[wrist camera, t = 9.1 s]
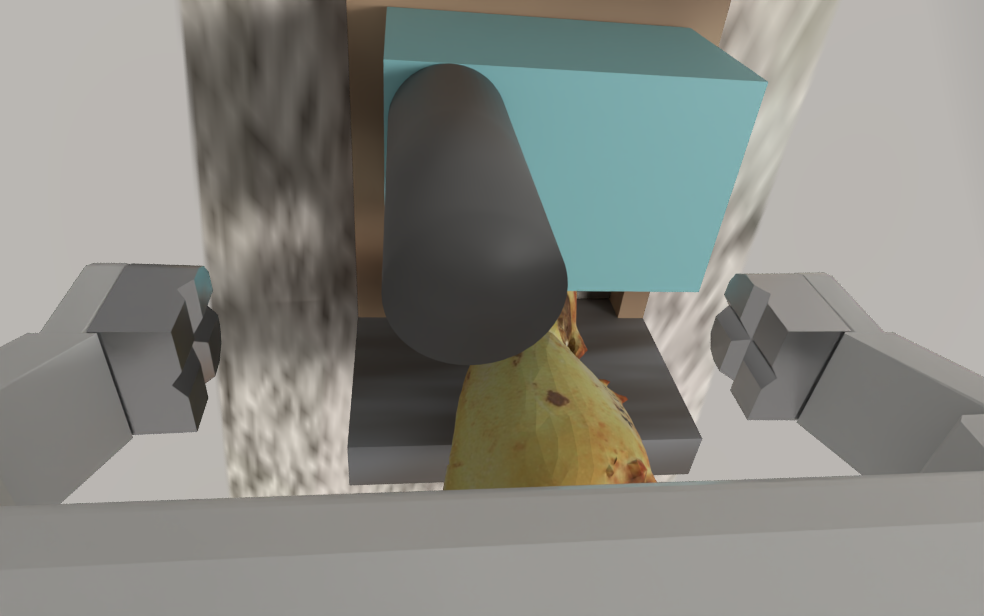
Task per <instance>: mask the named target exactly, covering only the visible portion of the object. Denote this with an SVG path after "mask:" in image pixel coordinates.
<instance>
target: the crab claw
mask: <svg viewBox="0 0 984 616" xmlns="http://www.w3.org/2000/svg"><path fill="white" fill-rule="evenodd" d="M576 309H577V291H567V297H566V300H565V304H564V307H563V309H562V311H561V314H560V316H559V317H558V319H557V321H556V322H555V324H554V325H553V326H552V328H551V329H550V330H549V331H548V332H547V333H546V334H545V335H544V336H543V337H542V338H541V339H540V340H539V341H538V342H536V343H535V344H534V345H533V346H531V347H529V348H528V349H526V350H525V351H523V352H521V353H519V354H517V355H515V356H512V357H510V358H507V359H504V360H501V361H497V362H493V363H488V364H482V365H470V366H469V369H468V371H467V374H466V376H465V380H464V383H463V387H462V391H461V394H460V397H459V401H458V408H457V412H456V421H455V428H454V435H453V440H452V447H451V452H450V456H449V465H447V469H446V475H445V481H444V487H443V490H467V489H494V488H521V487H547V486H574V485H601V484H628V483H657V482H656V480H655V478H654V476H653V474H652V472H651V468H650V464H649V459H648V456H647V453H646V450H645V448H644V446H643V444H642V441H641V438H640V436H639V434H638V432H637V430H636V428H635V426H634V424H633V422H632V420H631V418H630V416H629V415H628V413H627V411H626V410H625V408H624V407H623V405H622V403H624V402H625V401H627V400H628V399H627V398H626V397H625V396H622V395H619V394H617V393H615V392H613V391H612V390H610V389H609V388H608V387H607V385H608V384H609V383H610V381H608V380H604V379H598V378H597V377H596V376H595V375H594V374H593V373H592V371H590V370H589V369H588V368H587V367H586V366H585V365H584V364H583V363H582V362H581V361H580V360H579V359H580V358H581V357H582V356H583V355H584V354H585V353H586V352H587V351H588V350H587V348H586V346H585V344H584V342H583V339H582V337H581V336H580V334H579V331H578V329H577V326H576Z"/></svg>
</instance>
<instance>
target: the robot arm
mask: <svg viewBox="0 0 984 616" xmlns="http://www.w3.org/2000/svg"><path fill="white" fill-rule="evenodd" d="M212 292H213V289H212V285H211V281H210V276H209V272H208V271H207V269H206V268H205V267H204V266H190V265H160V264H127V263H93V264H90V265H86V266H85V268H84V269H83V270H82V272H81V273H80V275H79V276H78V278H77V279H76V280H75V282H74V283H73V285H72V286H71V288H70V289H69V291H68V292H67V294H66V295H65V297H64V298H63V299H62V301H61V303H60V304H59V305H58V307H57V308H56V310H55V311H54V313H53V314H52V315H51V317H50V318H49V320H48V321H47V323H46V324H45V326H44V327H43V329H42V330H41V332H40V333H27V334H25V335H23V336H21V337H19V338H17V339H15V340H13V341H11V342H9V343H7V344H5V345H3V346H2V347H0V616H984V377H983V376H981V375H979V374H977V373H975V372H973V371H971V370H969V369H967V368H965V367H963V366H961V365H958V364H956V363H955V362H953V361H951V360H948V359H946V358H944V357H942V356H940V355H938V354H936V353H934V352H932V351H930V350H928V349H926V348H924V347H922V346H920V345H918V344H916V343H914V342H912V341H910V340H908V339H906V338H904V337H901V336H900V335H898V334H896V333H893V332H884V331H883V330H882V329H881V328H880V327H879V326H878V325H877V324H876V322H875V321H874V320H873V319H872V318H871V317H870V316H869V315H868V314H867V313H866V312H865V311H864V310H863V308H862V307H861V306H860V305H859V304H858V303H857V302H856V301H855V300H854V299H853V298H852V297H851V296H850V295H849V293H848V292H847V291H846V290H845V289H844V288H843V287H842V286H841V285H840V284H839V283H838V282H837V281H836V280H835V278H834V277H833V276H831V275H829V274H826V273H824V272H815V273H791V274H790V273H786V274H785V273H784V274H735V276H734V277H733V278H732V279H731V280H730V282H729V284H728V286H727V289H726V291H725V294H724V295H725V297H726V300H727V302H728V304H729V306H728V307H727V308H725V309H724V310H723V311H722V312H721V313H719V314H718V315H717V316H716V318H715V321H714V324H713V327H712V330H711V352H712V356H713V360H714V362H715V364H716V366H717V367H718V369H719V371H720V372H722V373H723V374H725V375H726V376H728V377H729V378H731V379H732V380H734V382H733V384H732V387H731V392H732V394H733V396H734V398H735V399H736V401H737V403H738V404H739V406H740V408H741V409H742V411H743V413H744V415H745V417H746V418H747V420H798V421H797V423H798V424H799V425H800V426H802V427H803V428H804V429H805V430H807V431H808V432H809V433H810V434H812V435H813V436H814V437H815V438H817V439H818V440H819V441H820V442H822V443H823V444H824V445H825V446H827V447H828V448H829V449H830V450H832V451H833V452H834V453H835V454H837V455H838V456H839V457H840V458H841V459H843V460H844V461H845V462H846V463H848V464H849V465H850V466H851V467H853V468H854V469H855V470H856V471H858V472H859V473H860V474H861V476H832V477H803V478H777V479H776V478H774V479H747V480H746V479H744V480H717V481H689V482H657V483H628V484H601V485H574V486H547V487H521V488H494V489H467V490H440V491H413V492H385V493H357V494H329V495H301V496H273V497H245V498H217V499H189V500H161V501H133V502H108V503H107V502H105V503H77V504H61V503H62V502H63V501H64V500H65V499H66V498H67V497H68V496H69V495H70V494H71V493H73V492H74V491H75V490H76V489H77V488H78V487H79V486H80V485H81V484H83V483H84V482H85V481H86V480H87V479H88V478H89V477H90V476H91V475H93V474H94V473H95V472H96V471H97V470H98V469H99V468H100V467H101V466H102V465H104V464H105V463H106V462H107V461H108V460H109V459H110V458H111V457H112V456H114V454H116V453H117V452H118V451H119V450H120V449H121V448H122V447H123V446H125V445H126V444H127V443H128V442H129V441H130V440H131V439H132V438H133V436H132V435H139V434H140V435H141V434H161V433H183V432H197V431H198V428H199V425H200V422H201V419H202V415H203V412H204V409H205V406H206V403H207V400H208V395H207V390H206V385H205V383H206V382H208V381H209V380H211V379H212V378H213V377H215V375H216V372H217V368H218V365H219V361H220V351H221V331H220V324H219V319H218V315H217V314H216V313H215V312H214V311H213V310H212V309H211V308H210V307H208V306H207V305H208V302H209V300H210V297H211V294H212Z"/></svg>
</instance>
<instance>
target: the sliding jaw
mask: <svg viewBox="0 0 984 616" xmlns="http://www.w3.org/2000/svg"><path fill="white" fill-rule="evenodd" d="M383 62H384V197H385V210H384V237H383V264H382V291H381V295H382V305H383V308H384V312H385V315H386V317H387V320H388V322H389V324H390V325H391V327H392V329H393V330H394V332H395V333H396V334H397V335H398V336H399V338H400V339H401V340H402V341H404V342H405V343H406V344H407V345H408V346H409V347H411V348H412V349H414V350H415V351H417V352H419V353H420V354H422V355H424V356H426V357H429V358H432V359H434V360H437V361H441V362H445V363H450V364H456V365H482V364H488V363H493V362H497V361H501V360H504V359H507V358H510V357H512V356H515V355H517V354H519V353H521V352H523V351H525V350H526V349H528V348H529V347H531V346H533V345H534V344H535V343H536V342H538V341H539V340H540V339H541V338H542V337H543V336H544V335H545V334H546V333H547V332H548V331H549V330H550V329H551V328H552V326H553V325H554V324H555V322H556V321H557V319H558V317H559V316H560V314H561V311H562V309H563V307H564V304H565V300H566V297H567V291H633V292H699V289H700V286H701V283H702V280H703V277H704V274H705V271H706V268H707V265H708V262H709V259H710V256H711V253H712V250H713V247H714V244H715V241H716V238H717V235H718V232H719V229H720V226H721V223H722V220H723V217H724V214H725V211H726V208H727V205H728V202H729V199H730V196H731V193H732V190H733V187H734V184H735V181H736V178H737V175H738V172H739V169H740V166H741V163H742V160H743V157H744V154H745V150H746V147H747V144H748V141H749V138H750V135H751V132H752V129H753V126H754V123H755V120H756V117H757V114H758V111H759V108H760V105H761V102H762V99H763V96H764V93H765V90H766V87H767V84H768V81H766V80H765V79H763V78H762V77H760V76H759V75H757V74H756V73H755V72H753V71H752V70H750V69H749V68H747V67H746V66H744V65H743V64H742V63H740V62H739V61H737V60H736V59H734V58H733V57H732V56H730V55H729V54H727V53H726V52H724V51H723V50H721V49H720V48H719V47H717V46H716V45H714V44H713V43H711V42H710V41H708V40H707V39H706V38H704V37H703V36H701V35H700V34H698V33H697V32H696V31H694V30H693V29H691V28H685V27H671V26H657V25H642V24H628V23H614V22H600V21H585V20H571V19H557V18H543V17H528V16H514V15H500V14H486V13H471V12H457V11H443V10H429V9H414V8H400V7H387V13H386V28H385V44H384V59H383Z"/></svg>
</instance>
